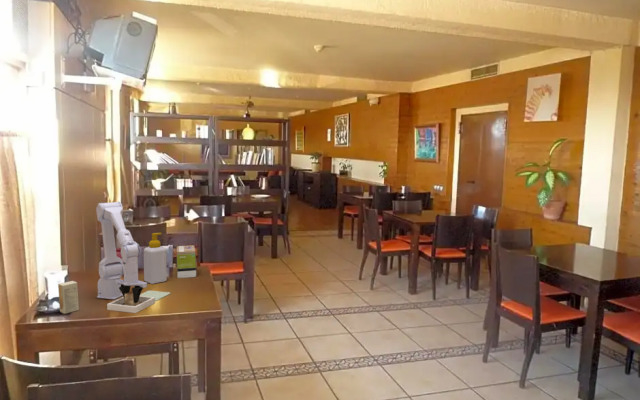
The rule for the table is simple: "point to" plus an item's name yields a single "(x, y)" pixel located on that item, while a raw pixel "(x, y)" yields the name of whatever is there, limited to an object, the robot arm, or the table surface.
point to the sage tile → (155, 294)
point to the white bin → (132, 309)
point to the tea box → (186, 261)
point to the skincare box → (68, 297)
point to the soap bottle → (155, 261)
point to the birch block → (130, 299)
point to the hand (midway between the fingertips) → (131, 302)
